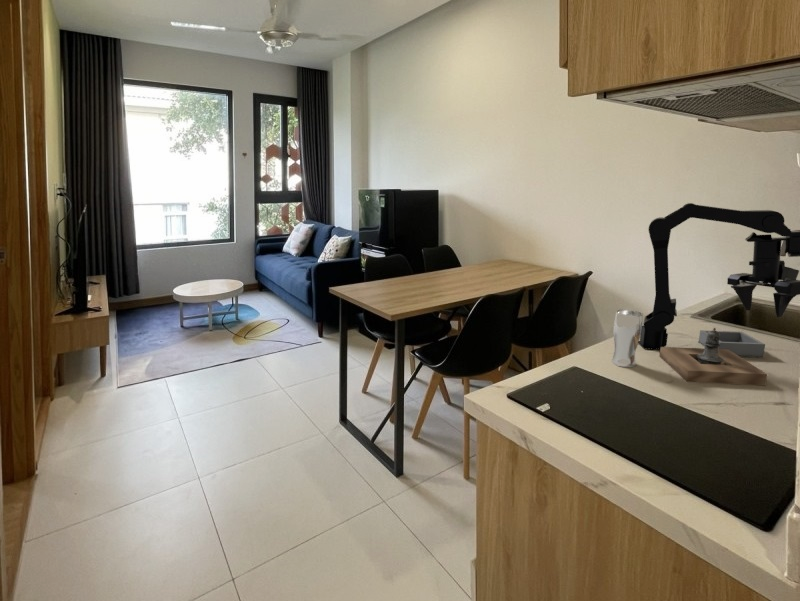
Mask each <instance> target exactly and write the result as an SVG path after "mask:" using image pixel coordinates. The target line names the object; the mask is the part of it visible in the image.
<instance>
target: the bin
mask: <svg viewBox="0 0 800 601" xmlns="http://www.w3.org/2000/svg"><path fill="white" fill-rule="evenodd" d="M709 331H710V330H705V329H704V330H701V329H700V330H699V336H698V343H699V344H700V345H702V346H703V347H704V348H705V344H704V342H706V339H707V333H708V332H709ZM716 331H717V332H719V334H720V338H719V344H720V346H719V347H718V349H728V350H730V351H732V352H733V353H735V354H736V355H738V356H739V357H741V356H742V357H743V358H744V357H745V358H764V353H765V349H766V344H765V343H764V342H762V341H760V340H758V339H756V338H754V337H753V336H751V335H749V334H747V333H745V332H743V331H734V330H733V331H732V330H730V331H727V330H716ZM742 357H741V358H742Z"/></svg>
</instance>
